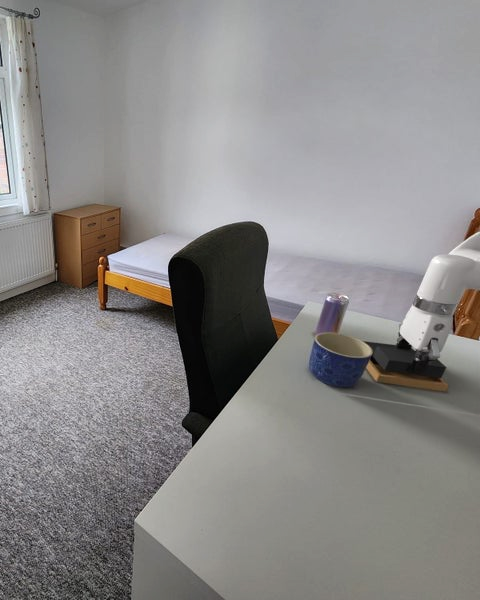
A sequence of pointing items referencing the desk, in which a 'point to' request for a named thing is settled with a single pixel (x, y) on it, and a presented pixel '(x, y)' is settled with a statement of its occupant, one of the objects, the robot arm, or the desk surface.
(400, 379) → the frame
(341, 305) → the beverage can
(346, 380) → the planter
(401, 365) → the loose pad
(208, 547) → the desk surface
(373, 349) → the pad
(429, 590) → the desk surface
